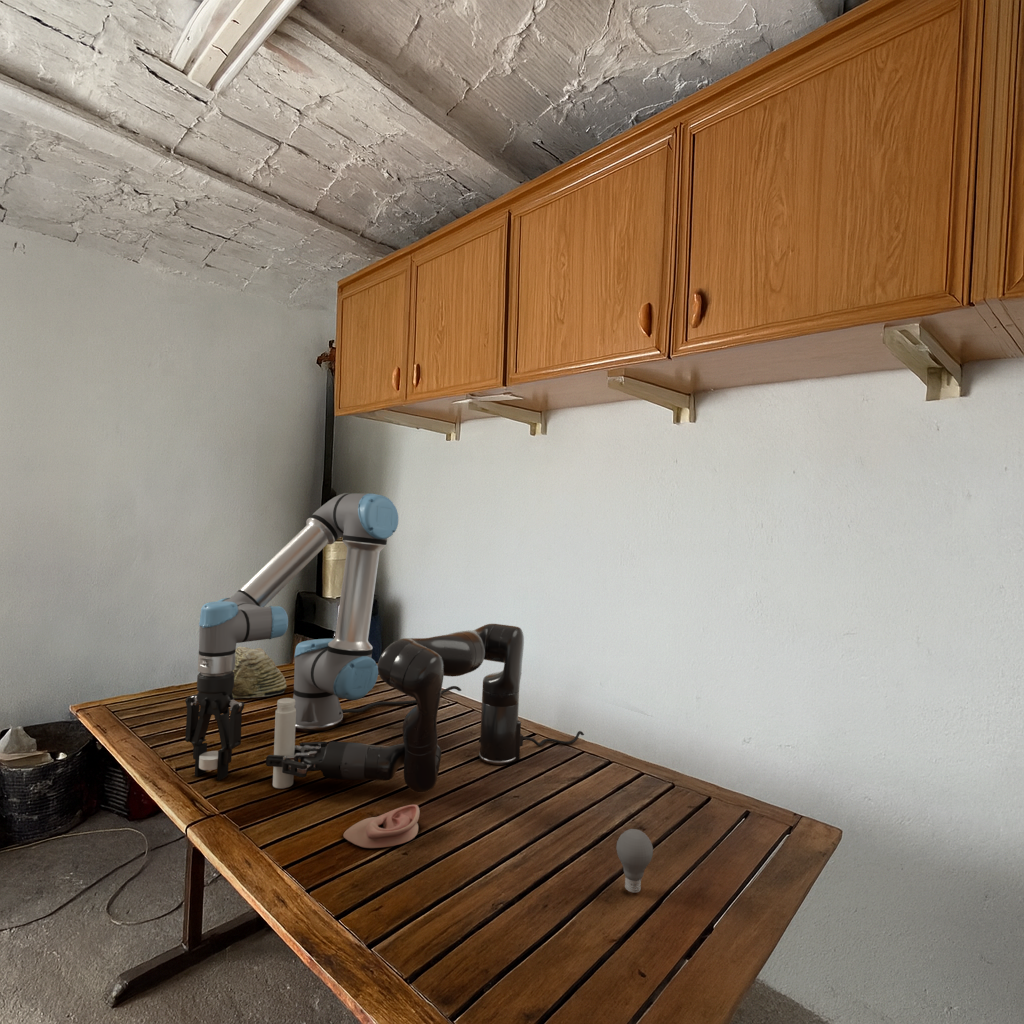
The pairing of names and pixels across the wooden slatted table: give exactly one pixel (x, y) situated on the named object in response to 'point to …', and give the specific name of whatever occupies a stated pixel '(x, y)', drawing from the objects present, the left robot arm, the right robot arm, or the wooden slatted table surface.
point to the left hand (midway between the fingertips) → (211, 775)
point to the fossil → (256, 674)
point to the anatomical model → (385, 828)
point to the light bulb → (634, 857)
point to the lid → (208, 760)
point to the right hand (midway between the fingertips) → (271, 755)
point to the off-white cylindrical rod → (284, 739)
